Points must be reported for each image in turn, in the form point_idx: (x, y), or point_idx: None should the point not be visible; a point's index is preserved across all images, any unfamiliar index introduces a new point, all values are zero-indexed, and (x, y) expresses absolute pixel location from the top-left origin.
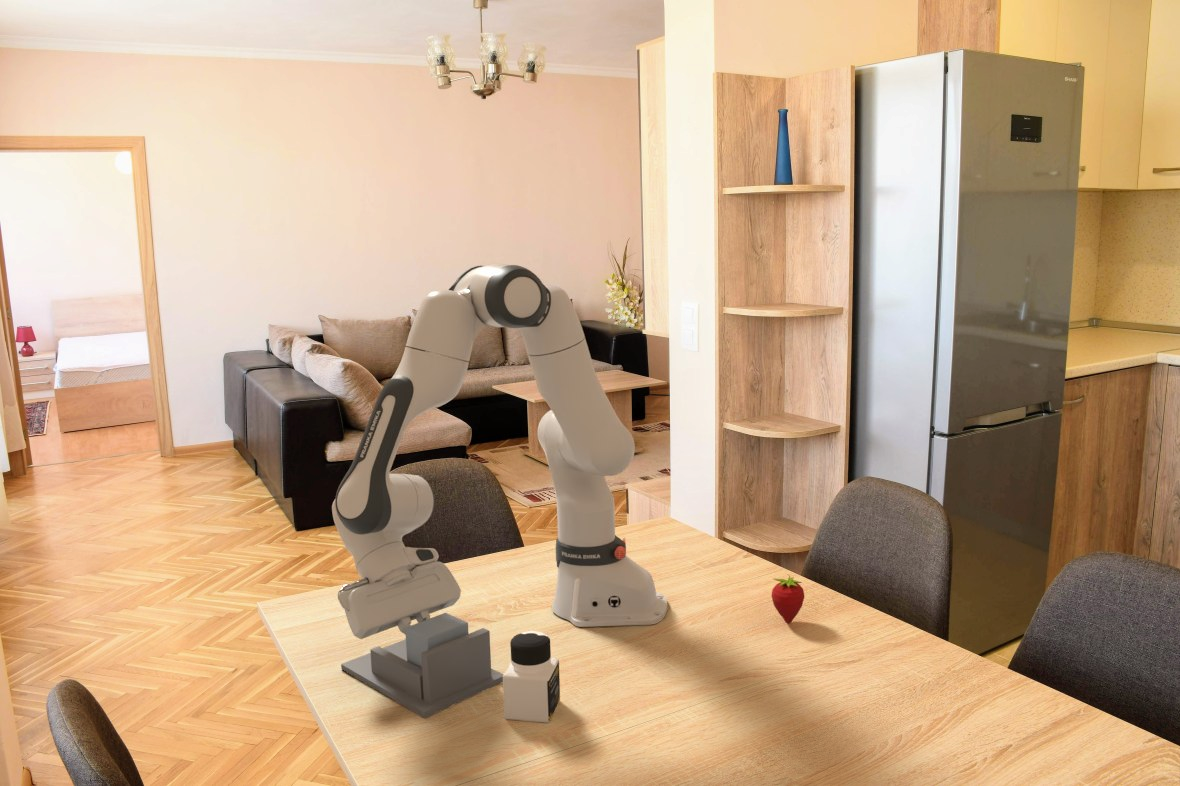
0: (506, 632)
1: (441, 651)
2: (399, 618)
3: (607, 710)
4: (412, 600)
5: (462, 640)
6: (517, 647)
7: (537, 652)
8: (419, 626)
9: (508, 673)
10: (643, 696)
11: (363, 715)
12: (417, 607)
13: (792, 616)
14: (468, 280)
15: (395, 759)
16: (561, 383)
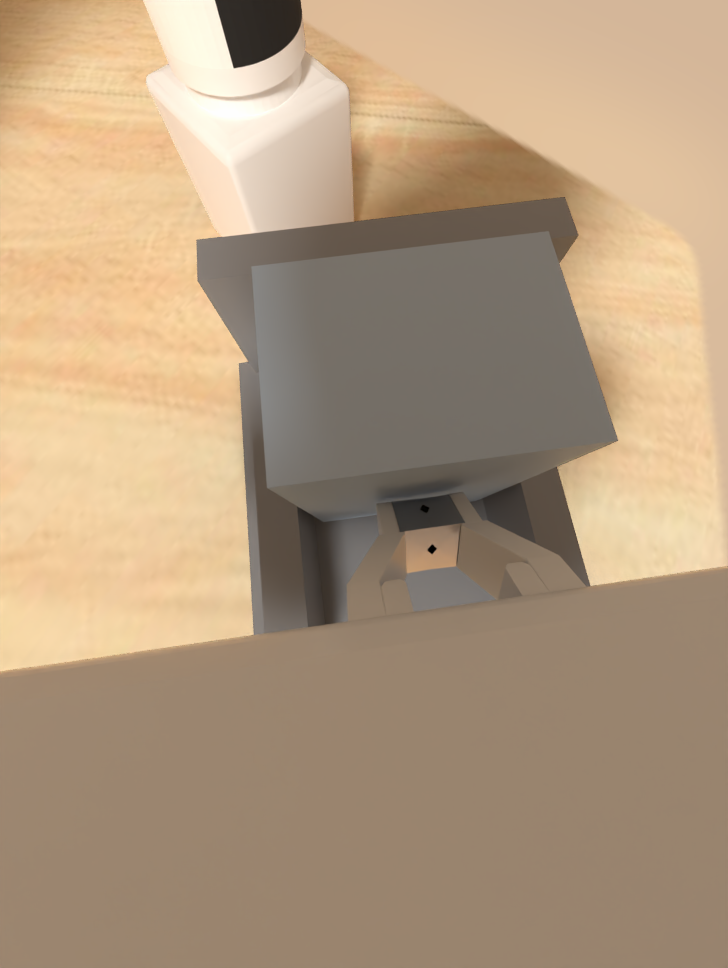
0: (19, 651)
1: (484, 211)
2: (637, 581)
3: (175, 156)
4: (515, 739)
5: (357, 229)
6: None
7: None
8: (524, 398)
9: (329, 78)
10: (83, 154)
11: (623, 445)
12: (458, 632)
13: None
14: None
15: (610, 246)
16: None
